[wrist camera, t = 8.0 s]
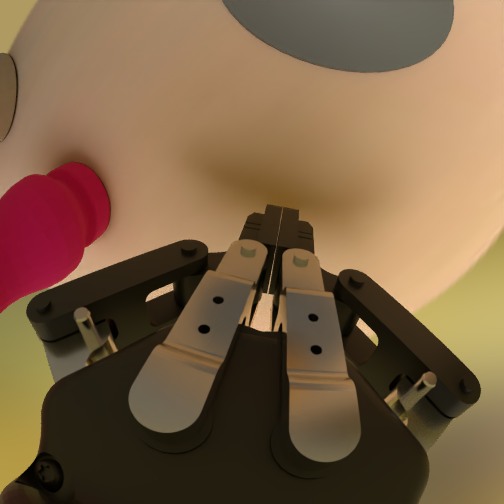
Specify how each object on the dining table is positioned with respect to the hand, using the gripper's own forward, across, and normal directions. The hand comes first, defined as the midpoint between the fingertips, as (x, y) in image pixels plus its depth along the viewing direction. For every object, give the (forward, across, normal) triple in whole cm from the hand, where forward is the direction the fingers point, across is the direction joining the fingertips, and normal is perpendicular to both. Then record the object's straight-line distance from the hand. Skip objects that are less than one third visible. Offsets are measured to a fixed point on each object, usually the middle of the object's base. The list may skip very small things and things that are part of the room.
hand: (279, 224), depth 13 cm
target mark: (+2, -1, -14) cm, 15 cm away
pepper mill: (+3, +15, +2) cm, 15 cm away
